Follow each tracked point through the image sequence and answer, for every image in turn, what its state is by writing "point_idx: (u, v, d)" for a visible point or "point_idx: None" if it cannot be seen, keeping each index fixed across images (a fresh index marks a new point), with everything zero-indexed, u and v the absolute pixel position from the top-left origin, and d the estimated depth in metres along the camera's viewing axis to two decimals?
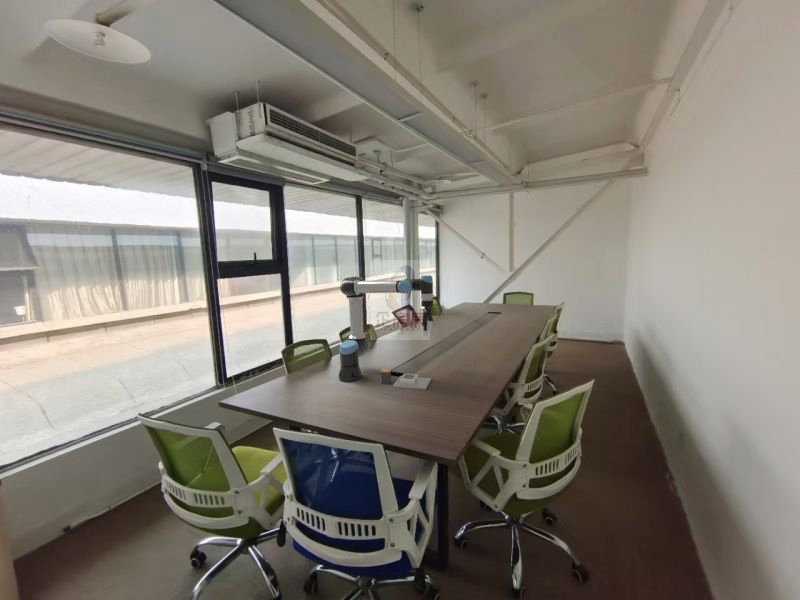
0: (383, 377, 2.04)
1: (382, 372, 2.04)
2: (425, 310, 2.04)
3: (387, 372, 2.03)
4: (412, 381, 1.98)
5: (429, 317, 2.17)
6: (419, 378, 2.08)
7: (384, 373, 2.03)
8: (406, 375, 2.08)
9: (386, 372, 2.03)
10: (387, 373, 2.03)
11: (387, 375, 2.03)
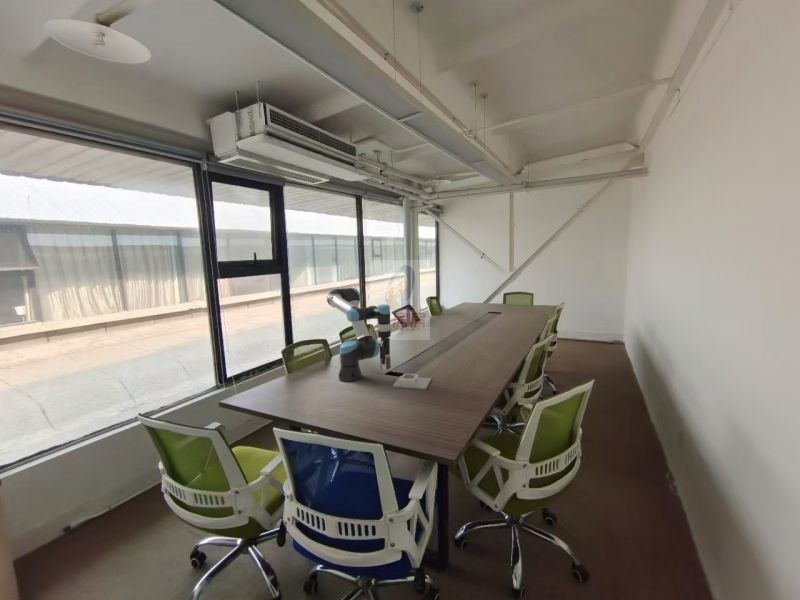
0: None
1: None
2: (381, 345, 1.97)
3: (386, 357, 2.02)
4: (412, 381, 1.98)
5: (386, 350, 2.06)
6: (419, 378, 2.08)
7: None
8: (406, 375, 2.08)
9: None
10: (386, 358, 2.02)
11: (386, 361, 2.02)
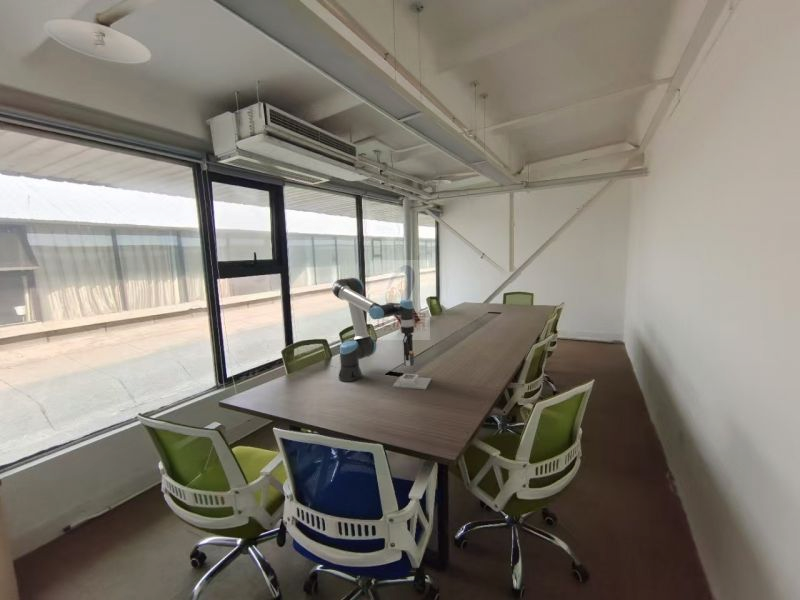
0: None
1: None
2: (405, 340, 1.94)
3: (410, 353, 1.99)
4: (412, 381, 1.98)
5: (409, 346, 2.03)
6: (419, 378, 2.08)
7: None
8: (406, 375, 2.08)
9: (409, 353, 1.99)
10: (410, 354, 1.99)
11: (410, 357, 1.99)
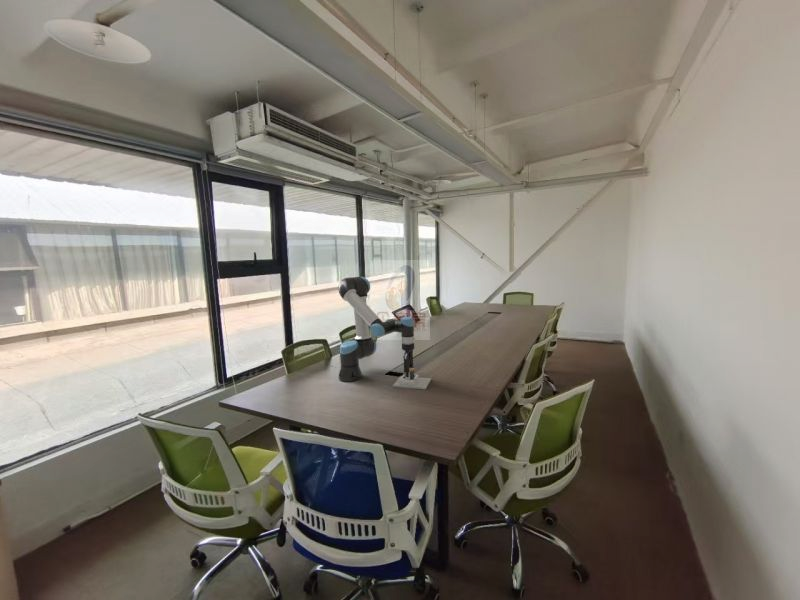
0: None
1: None
2: (405, 357, 1.96)
3: (410, 371, 2.01)
4: (412, 381, 1.98)
5: (409, 362, 2.05)
6: (419, 378, 2.08)
7: None
8: None
9: None
10: (410, 371, 2.01)
11: (410, 374, 2.01)
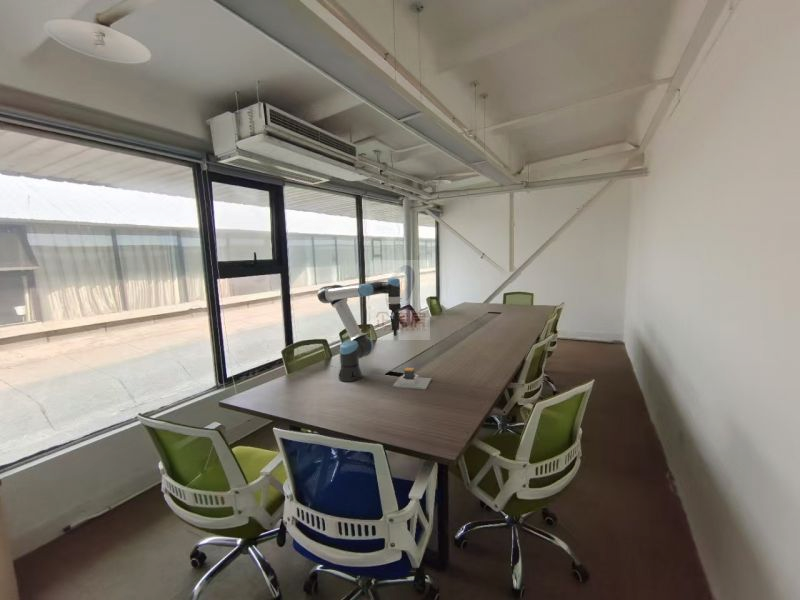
0: (406, 376, 2.02)
1: (405, 371, 2.02)
2: (392, 317, 2.04)
3: (410, 371, 2.01)
4: (412, 381, 1.98)
5: None
6: (419, 378, 2.08)
7: (408, 372, 2.01)
8: None
9: (409, 371, 2.01)
10: (410, 371, 2.01)
11: (410, 374, 2.01)
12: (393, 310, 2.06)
